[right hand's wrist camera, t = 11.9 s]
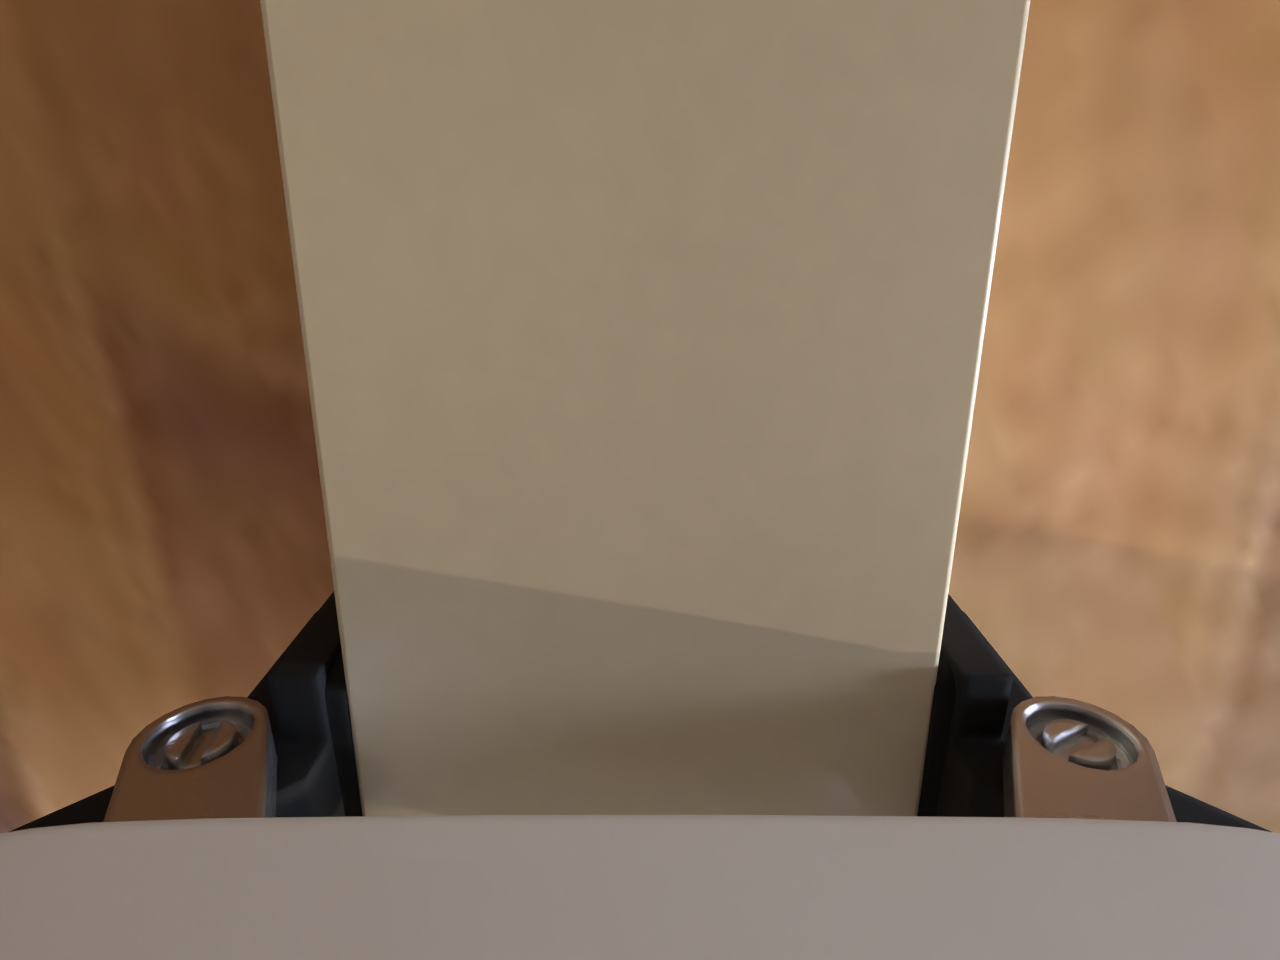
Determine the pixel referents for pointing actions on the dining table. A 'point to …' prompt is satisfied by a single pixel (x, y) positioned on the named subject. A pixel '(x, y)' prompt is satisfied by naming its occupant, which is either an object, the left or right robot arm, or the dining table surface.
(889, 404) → the cabinet
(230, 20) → the dining table surface
